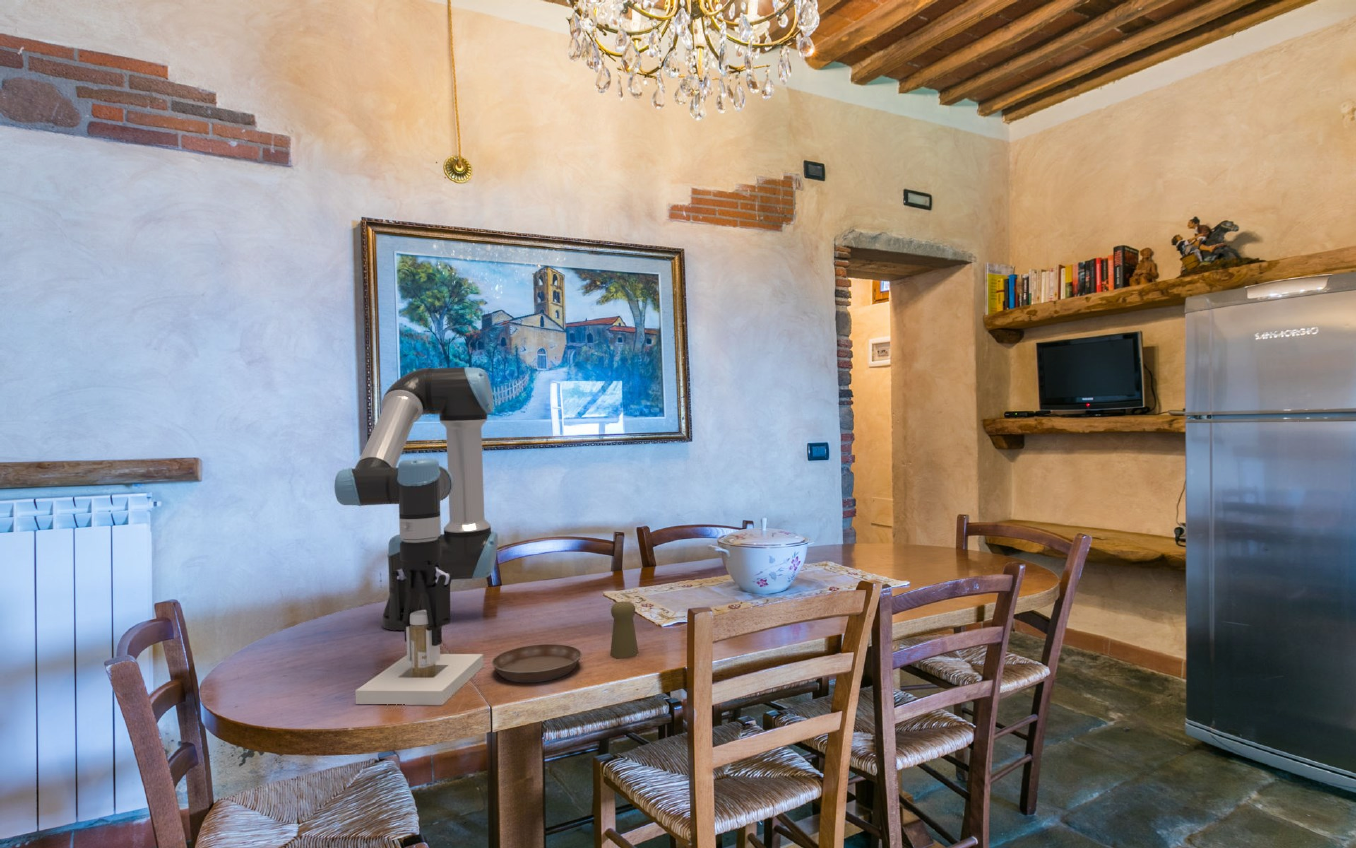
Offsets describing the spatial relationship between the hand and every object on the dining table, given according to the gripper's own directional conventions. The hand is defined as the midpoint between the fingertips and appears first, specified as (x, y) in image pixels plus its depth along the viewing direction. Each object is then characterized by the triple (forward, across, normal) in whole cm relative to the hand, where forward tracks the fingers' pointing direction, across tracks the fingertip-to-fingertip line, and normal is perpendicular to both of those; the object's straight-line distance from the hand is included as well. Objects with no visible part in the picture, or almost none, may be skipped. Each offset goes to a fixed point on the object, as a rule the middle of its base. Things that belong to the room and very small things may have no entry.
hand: (423, 660), depth 134 cm
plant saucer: (+5, +16, +14) cm, 22 cm away
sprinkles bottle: (+4, 0, 0) cm, 4 cm away
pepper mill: (+5, +28, +29) cm, 41 cm away
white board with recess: (+5, 0, 0) cm, 5 cm away
